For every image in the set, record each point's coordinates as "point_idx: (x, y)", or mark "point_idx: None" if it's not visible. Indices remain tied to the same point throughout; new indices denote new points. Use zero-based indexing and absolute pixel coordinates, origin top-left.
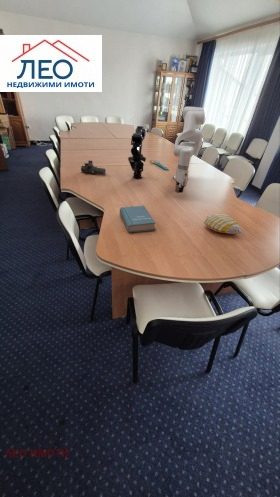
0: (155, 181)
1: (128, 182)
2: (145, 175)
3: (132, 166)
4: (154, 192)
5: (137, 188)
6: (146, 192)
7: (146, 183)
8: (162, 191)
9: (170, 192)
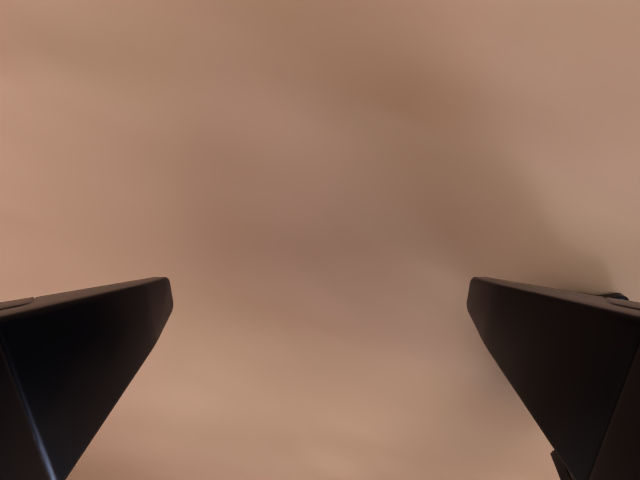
0: (353, 468)
1: (437, 140)
2: None
3: (543, 340)
4: None
5: (165, 181)
6: (10, 243)
7: (321, 361)
8: None
9: None
